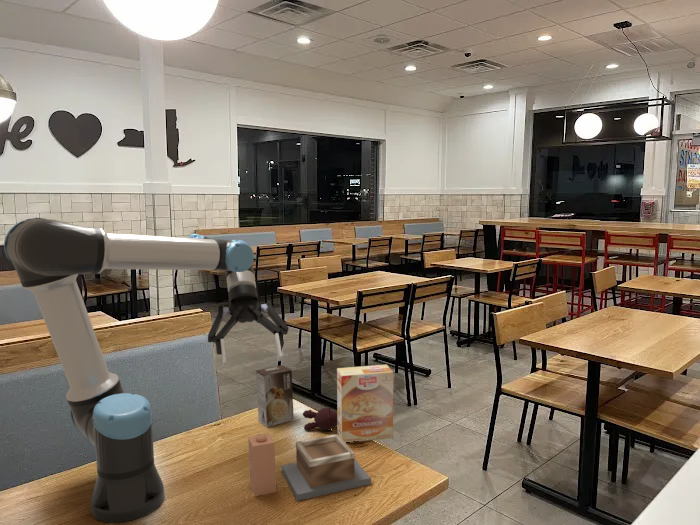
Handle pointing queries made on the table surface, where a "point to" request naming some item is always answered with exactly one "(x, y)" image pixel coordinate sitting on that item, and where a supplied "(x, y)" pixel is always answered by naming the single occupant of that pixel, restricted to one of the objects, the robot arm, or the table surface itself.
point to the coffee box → (274, 395)
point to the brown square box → (325, 460)
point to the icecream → (321, 419)
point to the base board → (305, 492)
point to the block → (262, 464)
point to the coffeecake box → (365, 403)
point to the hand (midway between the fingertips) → (252, 361)
